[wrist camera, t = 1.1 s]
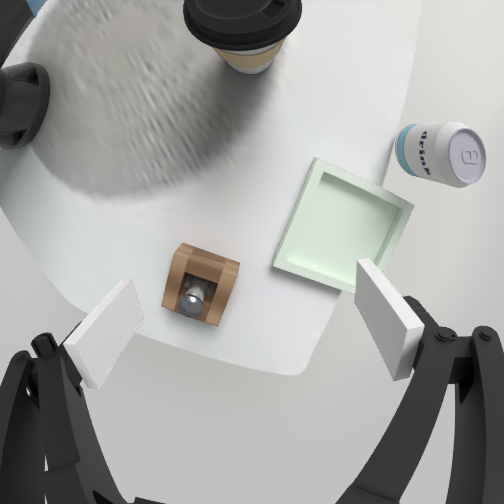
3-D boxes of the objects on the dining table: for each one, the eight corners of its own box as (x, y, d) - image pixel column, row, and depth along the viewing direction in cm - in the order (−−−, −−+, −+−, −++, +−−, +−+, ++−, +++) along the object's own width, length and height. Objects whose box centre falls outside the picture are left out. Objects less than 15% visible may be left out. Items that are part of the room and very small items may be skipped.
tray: (272, 260, 37) (273, 266, 35) (314, 157, 32) (317, 157, 30) (363, 292, 38) (367, 298, 36) (407, 202, 33) (414, 205, 31)
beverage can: (387, 125, 30) (439, 119, 18) (429, 124, 29) (486, 122, 18) (394, 177, 32) (447, 193, 21) (435, 173, 31) (491, 188, 20)
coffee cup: (285, 90, 29) (301, 48, 15) (207, 85, 29) (167, 44, 15) (291, 27, 26) (307, -39, 12) (216, 22, 26) (188, -42, 12)
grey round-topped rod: (190, 283, 38) (176, 312, 31) (195, 266, 37) (181, 293, 30) (209, 290, 39) (198, 320, 31) (215, 273, 38) (204, 301, 30)
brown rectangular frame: (182, 242, 36) (173, 253, 32) (239, 262, 37) (237, 275, 33) (167, 300, 40) (159, 315, 36) (218, 319, 40) (214, 335, 36)
